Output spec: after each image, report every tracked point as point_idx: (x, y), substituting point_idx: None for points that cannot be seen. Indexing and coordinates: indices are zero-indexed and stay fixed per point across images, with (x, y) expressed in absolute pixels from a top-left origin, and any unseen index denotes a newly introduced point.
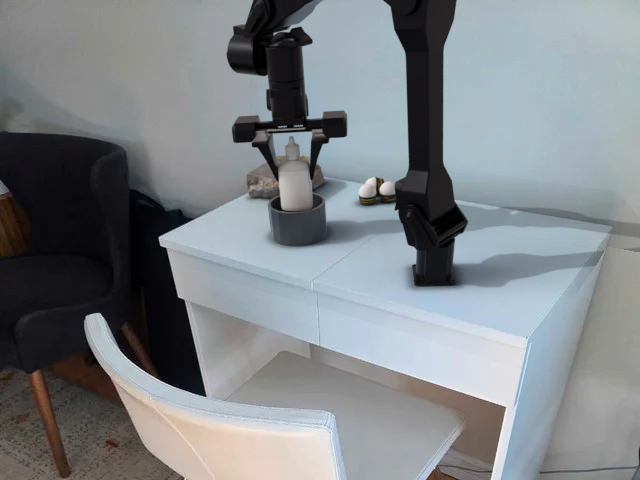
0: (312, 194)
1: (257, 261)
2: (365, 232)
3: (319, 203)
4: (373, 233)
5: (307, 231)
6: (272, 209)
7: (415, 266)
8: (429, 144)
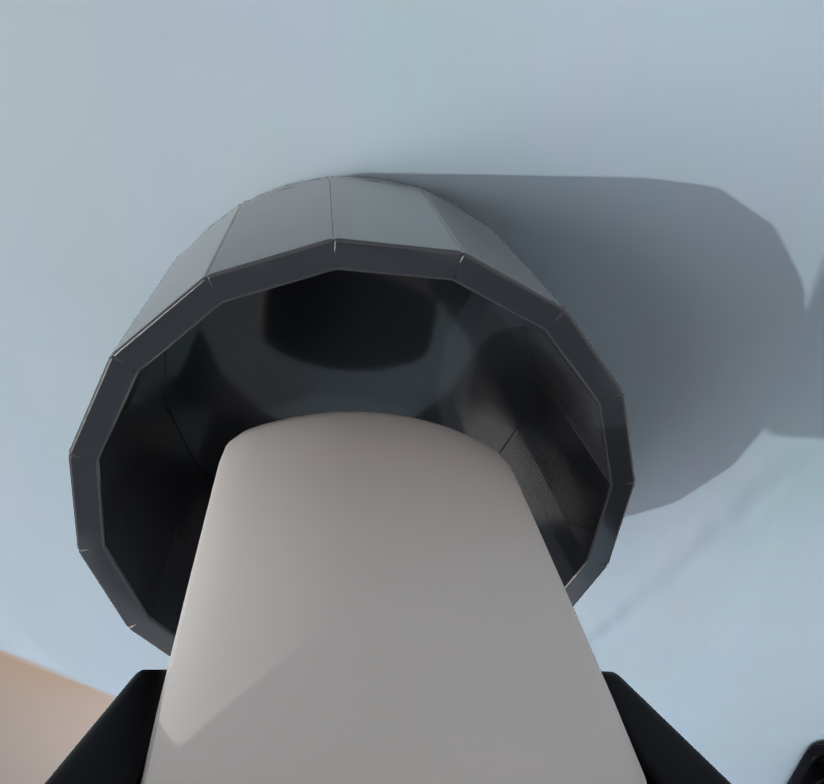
0: (539, 326)
1: (117, 665)
2: (767, 406)
3: (570, 371)
4: (804, 426)
5: None
6: (145, 638)
7: (819, 768)
8: None
